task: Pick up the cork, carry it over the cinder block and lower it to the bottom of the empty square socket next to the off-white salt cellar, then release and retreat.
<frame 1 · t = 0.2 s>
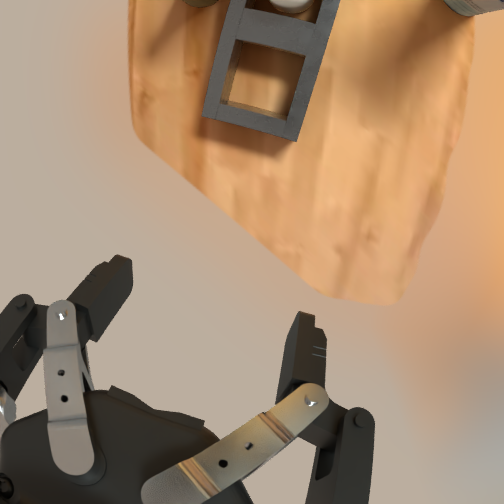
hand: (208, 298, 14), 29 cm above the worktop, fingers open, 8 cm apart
cinder block: (278, 34, 29), on the worktop
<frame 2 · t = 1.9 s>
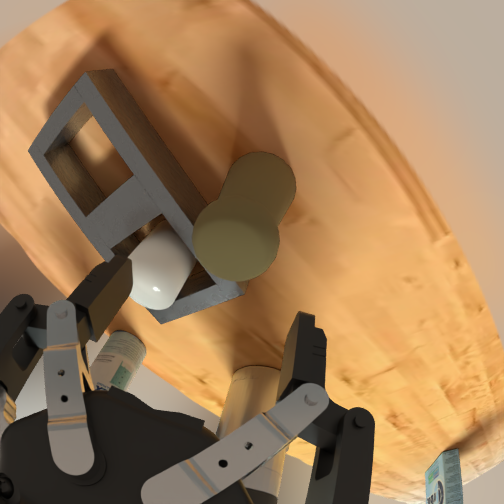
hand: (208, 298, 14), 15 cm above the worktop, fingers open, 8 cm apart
spray paint can: (129, 343, 43), on the worktop
cork: (261, 184, 26), on the worktop
salt cellar: (176, 243, 31), resting in cinder block
cinder block: (141, 197, 29), on the worktop
gum box: (440, 461, 55), on the worktop
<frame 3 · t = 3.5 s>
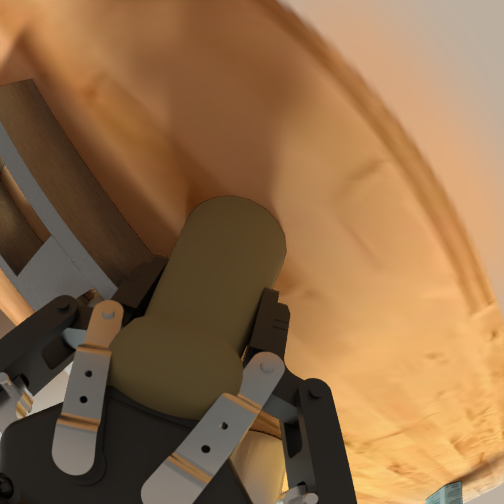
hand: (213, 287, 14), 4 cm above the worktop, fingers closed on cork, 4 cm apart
cork: (234, 243, 18), on the worktop, touching gripper
cinder block: (80, 249, 20), on the worktop
gum box: (442, 490, 47), on the worktop
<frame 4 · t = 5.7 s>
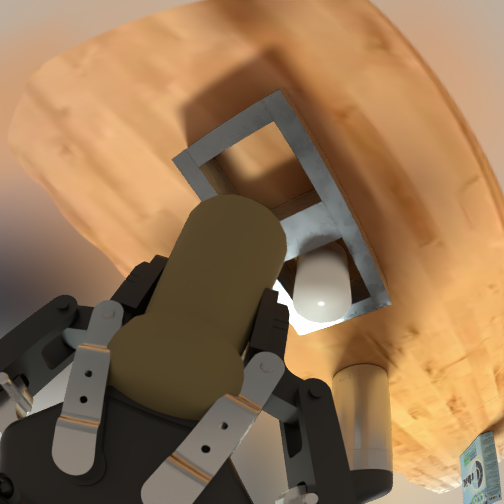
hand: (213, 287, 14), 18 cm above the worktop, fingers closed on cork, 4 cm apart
cork: (234, 241, 18), point 14 cm above the worktop, touching gripper
salt cellar: (322, 260, 34), resting in cinder block
cinder block: (296, 217, 32), on the worktop
gum box: (475, 444, 57), on the worktop
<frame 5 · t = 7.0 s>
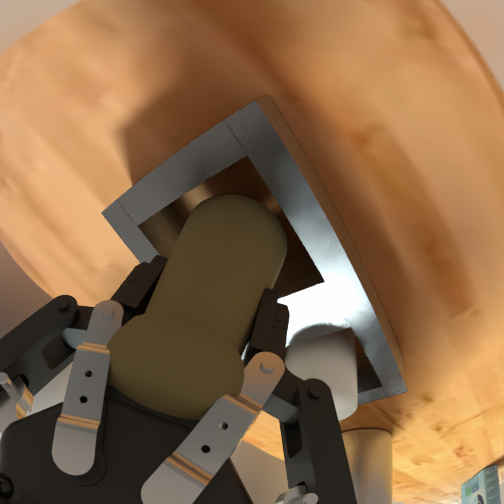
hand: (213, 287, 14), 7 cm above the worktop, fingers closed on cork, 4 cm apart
cork: (234, 241, 18), point 3 cm above the worktop, touching gripper
salt cellar: (321, 335, 25), resting in cinder block
cinder block: (288, 285, 22), on the worktop
gum box: (477, 475, 49), on the worktop
when the fingers open (4 cm above the worktop, at t = 7.8 s): cork stays where it is, resting in cinder block.
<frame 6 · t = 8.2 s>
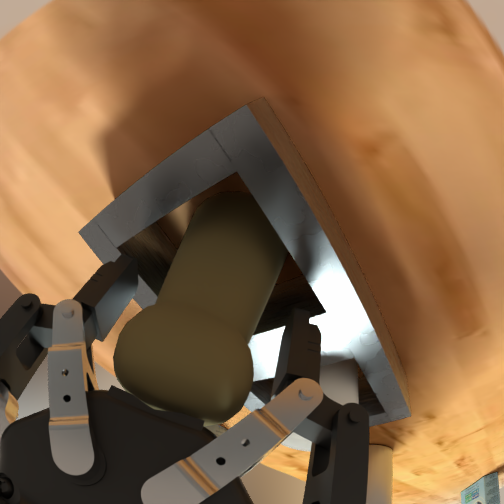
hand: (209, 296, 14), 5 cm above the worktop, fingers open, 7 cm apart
cork: (239, 237, 18), resting in cinder block
salt cellar: (321, 358, 23), resting in cinder block
cinder block: (285, 308, 20), on the worktop
gum box: (478, 482, 47), on the worktop
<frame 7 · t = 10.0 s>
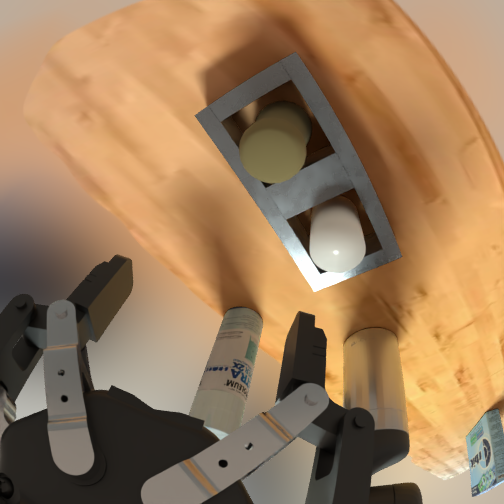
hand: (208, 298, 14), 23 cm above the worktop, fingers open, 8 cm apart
spray paint can: (243, 319, 48), on the worktop
cork: (283, 127, 30), resting in cinder block
salt cellar: (334, 217, 35), resting in cinder block
cinder block: (310, 174, 33), on the worktop
gum box: (481, 423, 60), on the worktop
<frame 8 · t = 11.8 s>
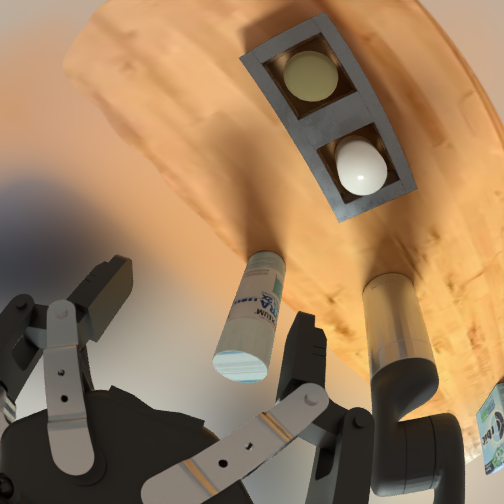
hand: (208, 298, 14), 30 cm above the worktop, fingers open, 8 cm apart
spray paint can: (266, 265, 50), on the worktop
cork: (311, 76, 33), resting in cinder block
salt cellar: (355, 155, 37), resting in cinder block
cinder block: (334, 116, 35), on the worktop
gum box: (491, 398, 61), on the worktop
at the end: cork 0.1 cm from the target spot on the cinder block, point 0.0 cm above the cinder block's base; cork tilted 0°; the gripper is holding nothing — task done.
